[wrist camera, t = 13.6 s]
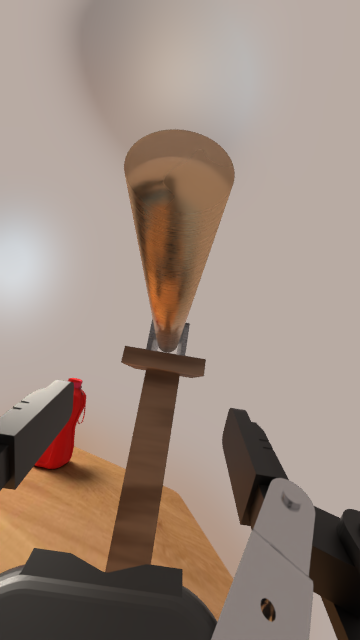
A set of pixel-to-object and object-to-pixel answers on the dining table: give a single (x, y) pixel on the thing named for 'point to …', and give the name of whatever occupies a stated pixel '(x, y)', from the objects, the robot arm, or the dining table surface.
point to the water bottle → (65, 433)
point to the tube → (176, 218)
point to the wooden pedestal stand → (147, 454)
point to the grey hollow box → (182, 343)
